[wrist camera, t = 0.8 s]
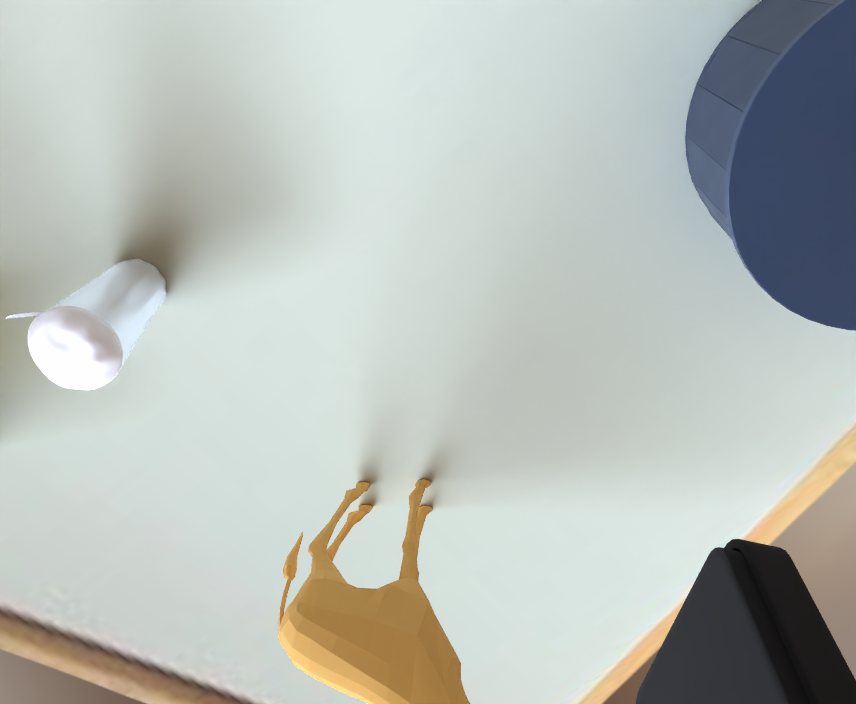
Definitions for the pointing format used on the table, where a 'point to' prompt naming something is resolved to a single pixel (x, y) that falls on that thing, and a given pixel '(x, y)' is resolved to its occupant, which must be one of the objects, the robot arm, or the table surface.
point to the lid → (801, 174)
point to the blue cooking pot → (737, 89)
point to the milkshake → (95, 325)
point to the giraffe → (370, 623)
